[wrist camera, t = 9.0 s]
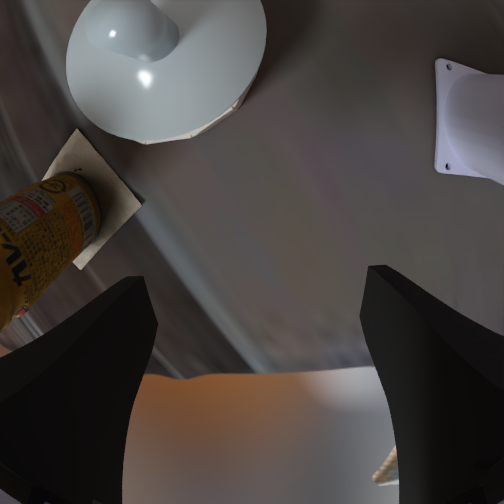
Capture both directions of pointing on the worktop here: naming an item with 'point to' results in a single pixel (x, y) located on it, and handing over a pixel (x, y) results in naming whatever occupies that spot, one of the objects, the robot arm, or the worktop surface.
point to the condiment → (58, 224)
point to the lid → (163, 63)
